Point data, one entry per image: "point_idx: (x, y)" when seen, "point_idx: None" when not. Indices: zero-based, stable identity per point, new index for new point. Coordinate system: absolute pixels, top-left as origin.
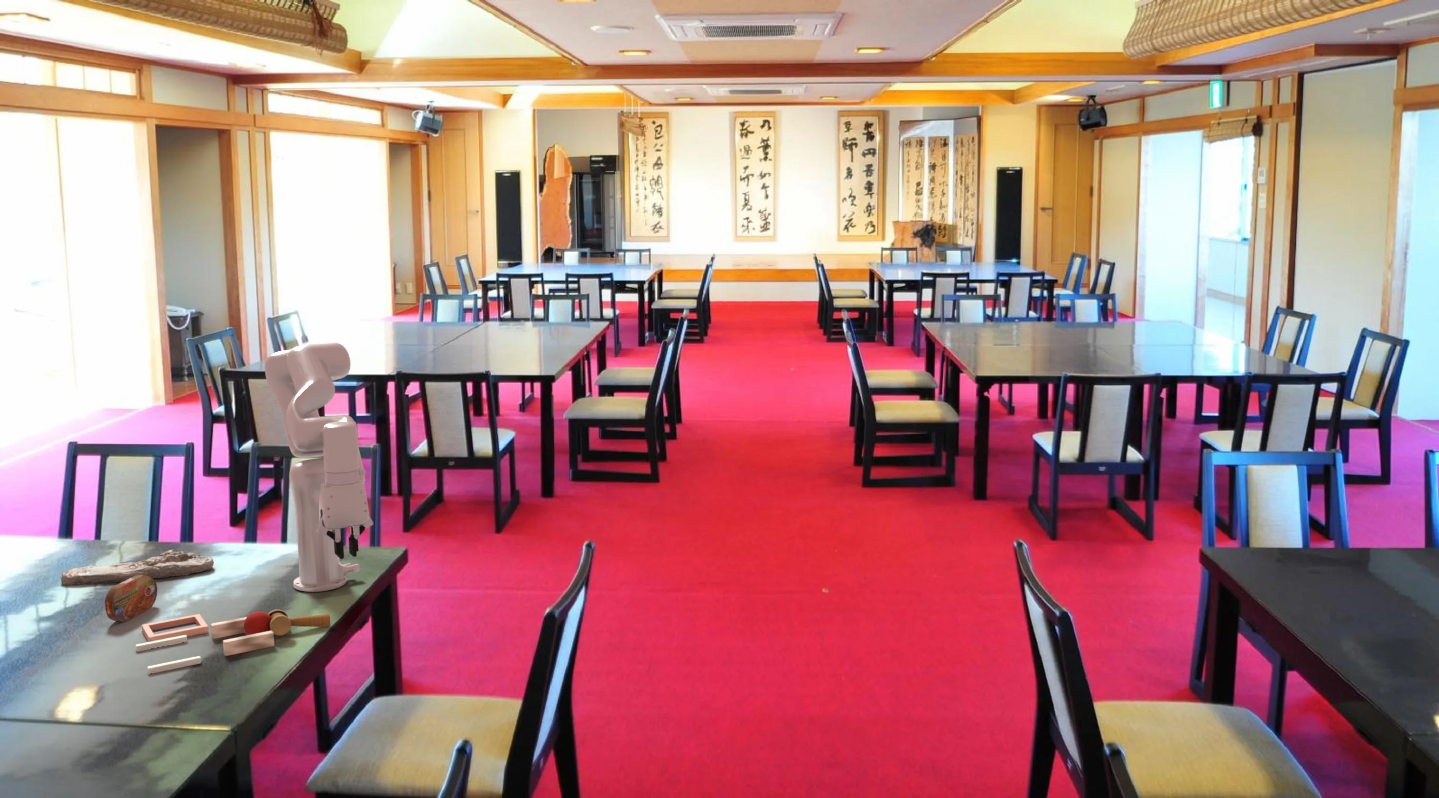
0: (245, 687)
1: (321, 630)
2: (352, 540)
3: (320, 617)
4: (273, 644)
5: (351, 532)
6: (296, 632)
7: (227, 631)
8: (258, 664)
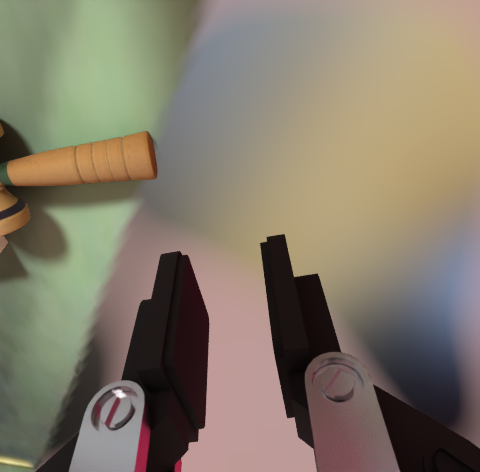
0: (11, 391)
1: None
2: (288, 417)
3: (121, 178)
4: (4, 245)
5: (314, 422)
6: None
7: None
8: (3, 322)
